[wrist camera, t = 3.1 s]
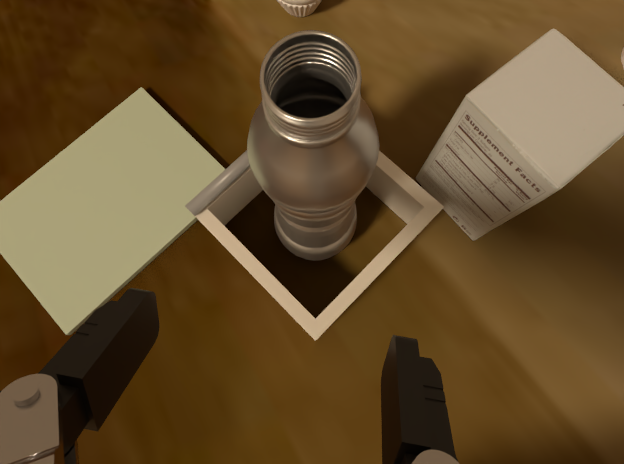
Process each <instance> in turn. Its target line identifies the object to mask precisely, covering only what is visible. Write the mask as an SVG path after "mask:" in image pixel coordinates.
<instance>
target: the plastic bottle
mask: <svg viewBox="0 0 624 464" xmlns="http://www.w3.org/2000/svg"><path fill="white" fill-rule="evenodd" d="M361 80H362V79H361V69H360V64H359V61H358V58H357V56H356V55H355V53H354V51H353V50H352V49H351V48H350V46H349V45H348V44H347V43H345V42H344V41H343V40H342V39H340V38H339V37H337V36H335V35H333V34H330V33H327V32H323V31H316V30H307V31H300V32H296V33H293V34H290V35H288V36H286V37H284V38H283V39H281V40H280V41H278V42H277V43H276V44H275V45H274V46H273V47H272V48H271V49H270V50H269V52H268V53H267V54H266V56H265V58H264V61H263V63H262V66H261V71H260V87H261V92H262V102H261V103H260V105H259V106H258V108H257V109H256V111H255V114H254V116H253V118H252V121H251V126H250V130H249V135H248V140H247V154H248V159H249V164H250V167H251V169H252V171H253V174H254V176H255V178H256V179H257V181H258V183H259V184H260V186H261V187H262V189H263V190H264V191H265V193H266V194H267V195H268V196H269V197H270V198H271V199H272V200H273V202H274V203H275V209H274V225H275V230H276V233H277V235H278V237H279V240H280V241H281V242H282V244H283V245H284V247H286V248H287V249H288V250H289V251H290V252H291V253H293V254H295V255H296V256H298V257H301V258H304V259H306V260H313V261H316V260H324V259H328V258H330V257H332V256H334V255H336V254H338V253H339V252H341V251H342V250H343V249H344V248H345V247H346V246H347V245H348V244H349V242H350V241H351V239H352V237H353V235H354V233H355V229H356V225H357V211H356V204H355V200H356V198H357V197H358V195H359V194H360V193H361V192H362V190H363V189H364V188H365V186H366V184H367V183H368V181H369V179H370V178H371V175H372V173H373V172H374V169H375V166H376V163H377V160H378V154H379V137H378V131H377V128H376V124H375V121H374V118H373V114H372V112H371V110H370V109H369V107H368V105H367V103H366V102H365V101H364V100H363V99H362V97H361V93H360V88H361Z"/></svg>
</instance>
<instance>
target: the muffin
mask: <svg viewBox="0 0 624 464" xmlns="http://www.w3.org/2000/svg"><path fill="white" fill-rule="evenodd" d="M277 1H278V2H279V3H280V5H281V6H282V7H283V8H284V9H285V10H286V11H287V12H288V13H289V14H291V15H294V16H297V17H305V16H308V15H310V14H312V13H313V11H315V9H316V8H317V7H318V5H319V4H320V2H321V1H322V0H277Z"/></svg>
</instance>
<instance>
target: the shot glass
mask: <svg viewBox="0 0 624 464" xmlns="http://www.w3.org/2000/svg"><path fill="white" fill-rule="evenodd" d="M621 61H622V65H623V68H624V48H623V49H622V54H621Z"/></svg>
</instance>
